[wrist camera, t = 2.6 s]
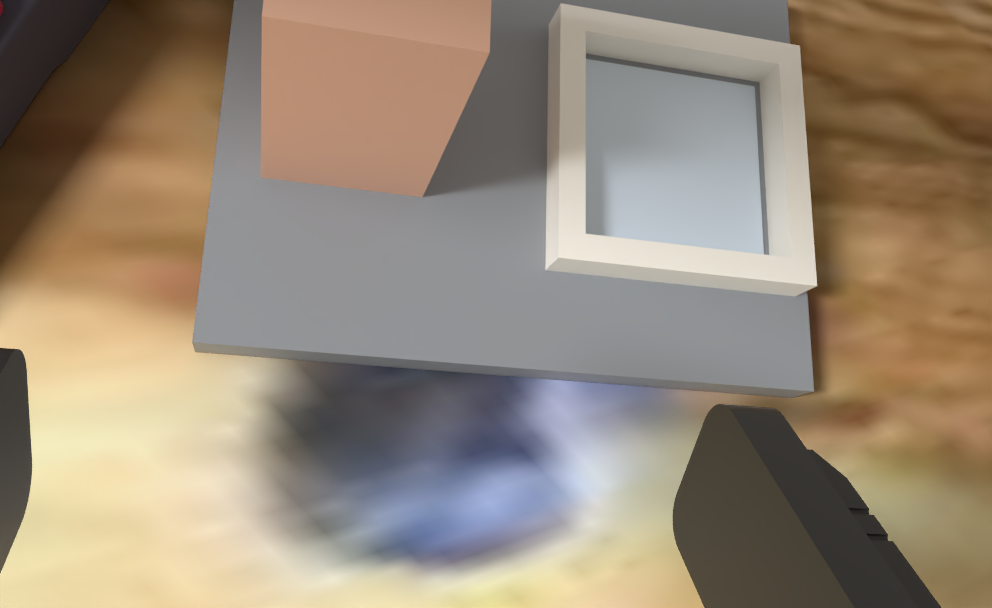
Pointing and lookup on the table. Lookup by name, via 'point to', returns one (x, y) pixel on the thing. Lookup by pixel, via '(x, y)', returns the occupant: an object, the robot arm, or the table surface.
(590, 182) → the build board
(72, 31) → the calculator
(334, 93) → the pillar block
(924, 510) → the table surface
